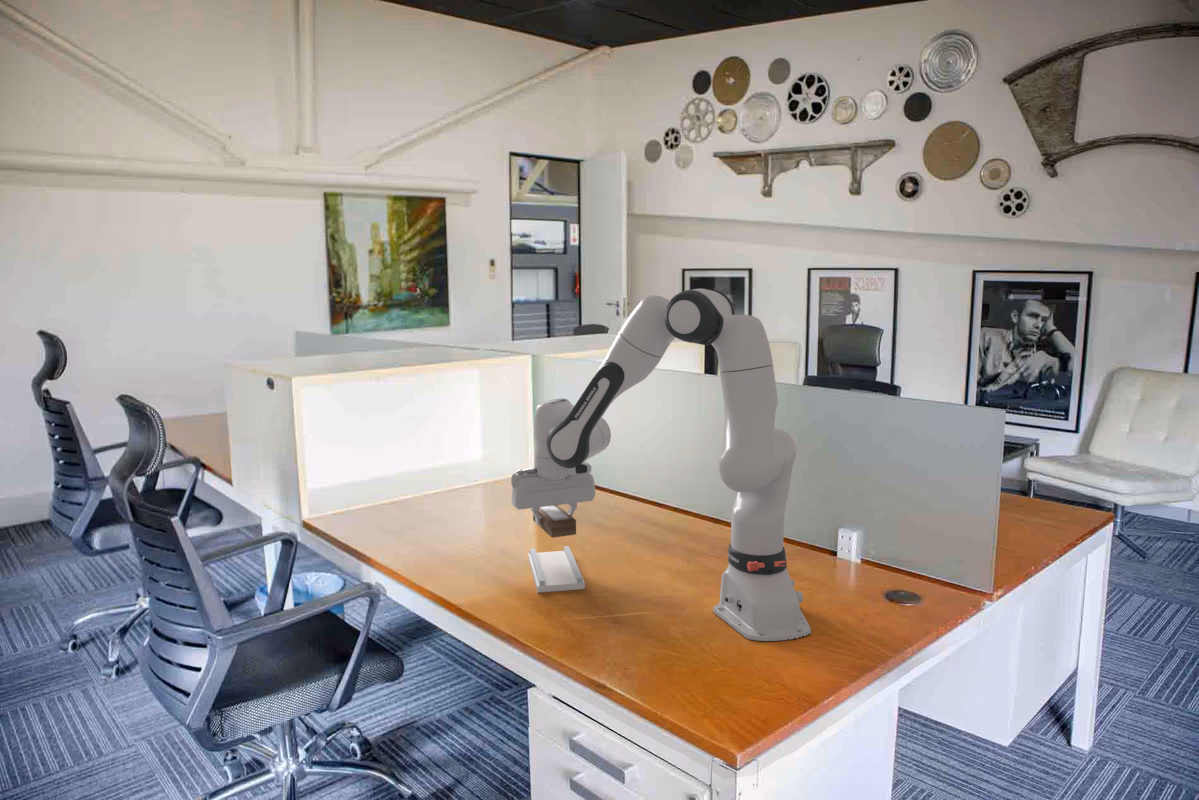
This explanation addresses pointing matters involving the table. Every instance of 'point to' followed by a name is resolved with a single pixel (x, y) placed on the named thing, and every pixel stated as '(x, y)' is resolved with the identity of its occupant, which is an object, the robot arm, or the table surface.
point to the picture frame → (556, 521)
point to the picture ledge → (555, 571)
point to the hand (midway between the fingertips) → (554, 522)
